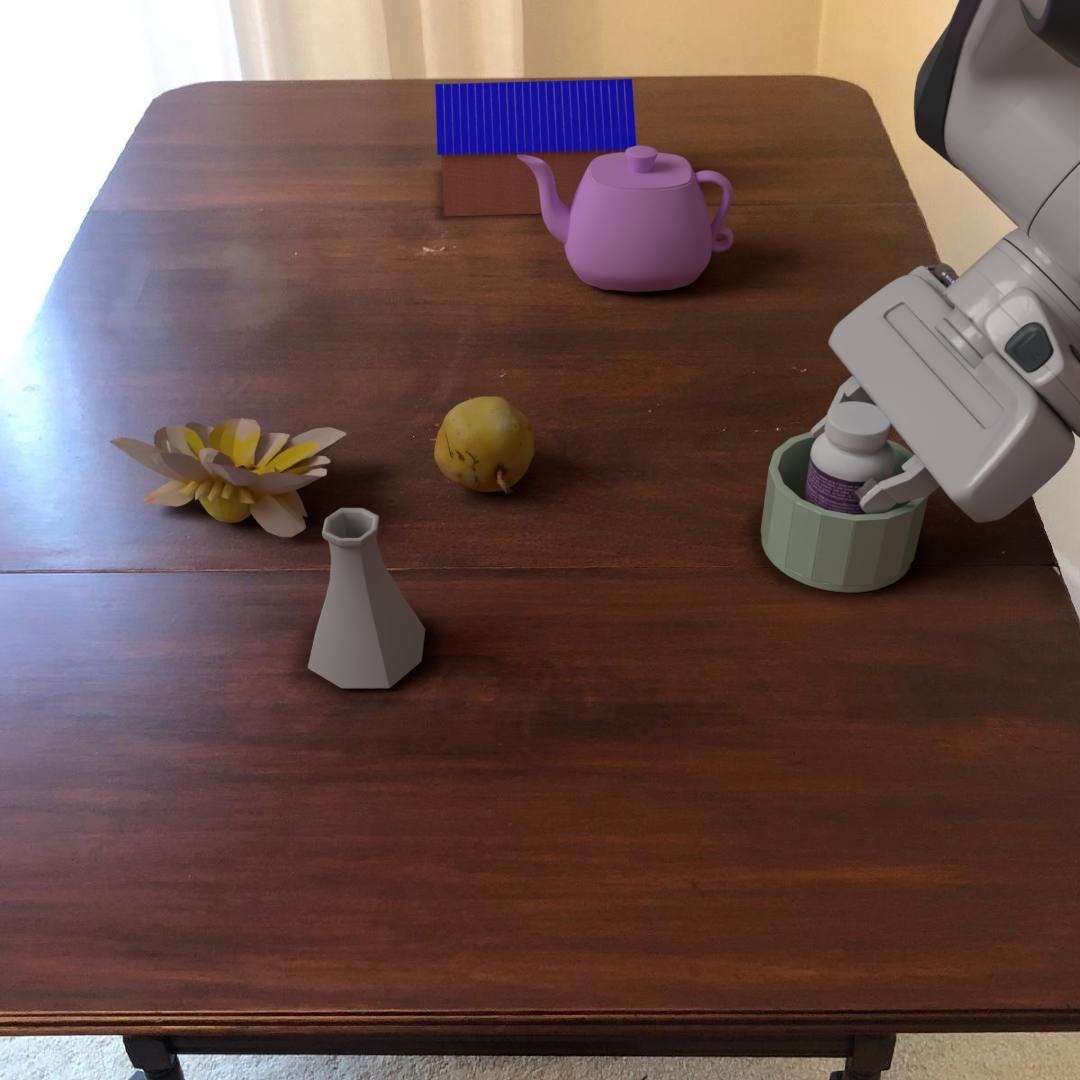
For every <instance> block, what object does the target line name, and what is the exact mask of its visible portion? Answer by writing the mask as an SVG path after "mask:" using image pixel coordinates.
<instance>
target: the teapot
mask: <svg viewBox="0 0 1080 1080" xmlns="http://www.w3.org/2000/svg"><path fill="white" fill-rule="evenodd" d="M517 157H518V158H519V159H520V160H521V161H523V162H524V163H525V164H526V165H527V166H529V167H530V168H531V170H532V171H533V173H534V174H535V177H536V179H537V182H538V186H539V193H540V203H541V211H542V213H541V216H542V220H543V223H544V225H545V226H546V228H547V231H549V233H550V234H551V236H553V237H554V239H556V240H557V241H559V242H560V243H562V245H564V252H565V255H566V258H567V262H568V263H569V266H570V267H571V269H572V270H573V272H574V273H575V274H576V276H577V277H578V278H579V279H580V281H582V282H583V283H585V284H587V285H589V286H591V287H595V288H598V289H600V290H604V291H621V292H638V293H639V292H640V293H641V292H658V291H673V290H676V289H679V288H682V287H686V286H688V285H691V284H692V283H694V282H695V281H696V280H697V279H698V278H699V277H700V276H701V275H702V273H703V272H704V271H705V270H706V268H707V267H708V266H709V263H710V261H711V257H712V252H713V253H718V254H719V253H723V252H726V251H728V250H729V249H730V248H731V247H732V245H733V243H734V233H733V231H732V230H731V229H730V228H729V227H726V226H725V227H724V226H723V224H724V222H725V220H726V218H727V216H728V214H729V212H730V209H731V206H732V203H733V199H734V189H733V185H732V184H731V182H730V180H729V179H728V178H727V177H726V176H725V175H723V174H722V173H720V172H718V171H715V170H709V169H707V170H700V171H698V172H695V170H694V169H693V167H692V165H691V163H690V162H689V161H688V160H687V159H686V158H685V157H683V156H681V155H678V154H674V153H667V152H659V151H658V150H657V148H655V147H652V146H649V145H636V146H633V147H630V148H628V149H626V151H625V152H622V153H612V154H606V155H602V156H599V157H597V158H595V159H594V160H592V161H591V163H590V165H589V166H588V168H587V170H586V172H585V174H584V176H583V178H582V180H581V182H580V184H579V186H578V188H577V191H576V193H575V195H574V198H573V200H572V204H571V207H570V208H569V207H568V206H566V205H565V204H564V203H562V202H561V200H560V199H559V197H558V195H557V192H556V187H555V180H554V176H553V172H552V170H551V168H550V167H549V165H548V164H547V163H546V162H544V161H543V160H541V159H539V158H536V157H532V156H528V155H517ZM705 183H706V184H707V183H712V184H715V185H717V186H718V187H720V188H721V189H722V198H721V202H720V205H719V207H718V209H717V211H716V213H715V216H714V217H713V220H712V222H711V216H710V211H709V208H708V203H707V201H706V199H705V195H704V192H703V190H702V188H701V185H700V184H705ZM718 236H724V237H725V239H723V240H721V241H717V237H718Z"/></svg>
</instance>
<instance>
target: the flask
mask: <svg viewBox="0 0 1080 1080" xmlns="http://www.w3.org/2000/svg"><path fill="white" fill-rule="evenodd" d="M379 523H380V515H378V514H376V513H374V512H372V511H370V510H368V509H366V508H363V507H340V508H339V509H338V510H336V511H335V512H333V513H331V514H330V515H329V516H327V517H326V518H325V519H324V523H323V527H322V530H321V536H322V538H323V539H324V541H327V542H328V546H329V553H330V554H329V555H330V569H329V583H328V586H327V591H326V594H325V599H324V603H323V605H322V608H321V612H320V615H319V619H318V622H317V626H316V629H315V633H314V638H313V641H312V646H311V651H310V655H309V659H308V660H309V661H308V664H307V669H308V670H310V671H312V672H313V673H315V674H316V675H318V676H320V677H322V678H323V679H325V680H327V681H328V682H330V683H332V684H333V685H335V686H337V687H338V688H340V689H390V688H392V687H393V686H394V685H395V684H396V683H398V682H399V681H400V680H401V679H402V678H404V677H405V676H406V675H407V674H409V672H410V671H412V670H413V669H414V668H415V667H417V666H418V665H419V664H420V663H421V662H422V661H423V652H424V643H425V634H426V628H425V627H424V625H423V623H422V621H421V620H420V618H419V617H418V616H417V614H416V613H415V611H414V610H413V608H412V607H411V606H410V604H409V602H408V601H407V599H406V598H405V596H404V595H403V593H402V592H401V590H400V588H399V587H398V585H397V584H396V582H395V580H394V578H393V577H392V575H391V574H390V572H389V570H388V569H387V566H386V565H385V563H384V559H383V557H382V554H381V552H380V548H379V546H378V541H377V539H378V538H377V535H378V529H379Z"/></svg>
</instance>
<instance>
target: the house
mask: <svg viewBox="0 0 1080 1080" xmlns="http://www.w3.org/2000/svg"><path fill="white" fill-rule="evenodd" d="M434 88H435V89H434V91H435V121H436V122H435V123H436V126H435V127H436V151H437V152H436V154H437V156H440V162H441V163H440V165H441V181H442V182H441V183H442V195H443V197H442V199H443V211H444V214H443V215H444V217H468V216H469V217H470V216H473V217H474V216H504V215H537V214H538V215H539V214H541V215H542V211H541V203H540V193H539V186H538V182H537V179H536V177H535V174H534V173H533V171H532V170H531V168H530V167H529V166H527V165H526V164H525V163H524V162H523V161H521V160H520V159H519V158H518V157H517V155H528V156H532V157H536V158H539V159H541V160H543V161H544V162H546V163H547V164H548V165H549V167H550V168H551V170H552V172H553V176H554V180H555V187H556V192H557V195H558V197H559V199H560V200H561V202H562V203H564V204H565V205H566V206H568V207H569V208H570V207H571V204H572V200H573V198H574V195H575V193H576V191H577V188H578V186H579V184H580V182H581V180H582V178H583V176H584V174H585V172H586V170H587V168H588V166H589V165H590V163H591V161H592V160H594V159H595V158H597V157H599V156H602V155H606V154H612V153H622V152H625V151H626V149H628V148H630V147H633V146H637V133H636V119H635V118H636V116H635V103H634V100H635V99H634V87H633V78H614V79H613V78H612V79H607V78H606V79H605V78H604V79H574V80H573V79H571V80H569V79H568V80H539V81H537V80H535V81H500V82H499V81H497V82H464V83H463V82H462V83H461V82H459V83H458V82H457V83H435V84H434Z"/></svg>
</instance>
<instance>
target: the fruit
mask: <svg viewBox="0 0 1080 1080" xmlns="http://www.w3.org/2000/svg"><path fill="white" fill-rule="evenodd" d="M466 396H467V400H465V401H463V402H460V403H458V404H456V405H455V406H453V407H452V409H450V410H449V411H448V413H446V414H445V417H444V418H443V421H442V423H441V426H440V428H439V430H438V432H437V434H436V439H435V444H434V450H433V454H434V456H433V457H434V460H435V463H436V465H437V467H438V468H439V470H440V472H441V474H442V475H443V476H444V477H445V478H446V479H447V480H449V481H451V482H453V483H455V484H457V485H459V486H461V487H462V486H463V487H465V488H467V489H470V490H472V491H476V492H479V493H493V492H504V493H505V494H506V495H508V494H513V493H512V492H513V490H512V489H510V488H511V487H513V486H514V485H516V484H517V483H518V482H519V481H520V480H521V479H522V478H523V477H524V475H525V474H526V472H527V471H528V469H529V467H530V465H531V462H532V459H533V457H534V454H535V440H534V432H533V428H532V425H531V423H530V421H529V420H528V419H527V417H526V416H525V414H523V412H521V411H520V410H519V409H518V408H516V407H514V406H513V405H512V404H511V403H510V402H509V401H508V400H507V399H505V398H503V397H501V396H478V397H472V396H471V395H469V394H467V395H466Z"/></svg>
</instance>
